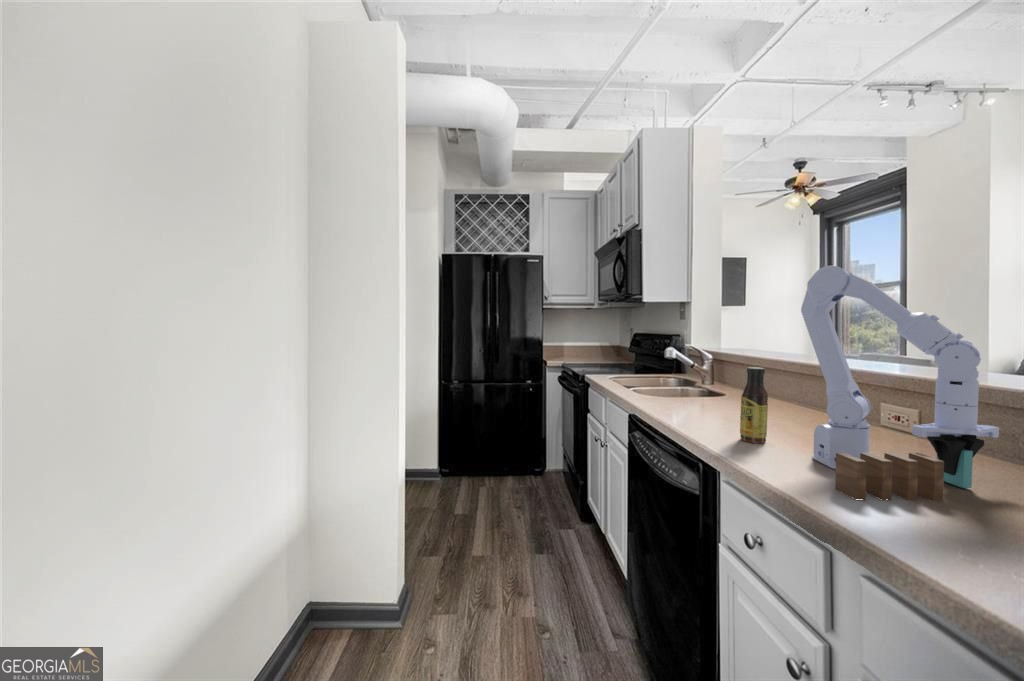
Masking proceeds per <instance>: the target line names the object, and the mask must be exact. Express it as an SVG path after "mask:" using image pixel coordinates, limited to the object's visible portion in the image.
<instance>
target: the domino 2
mask: <svg viewBox="0 0 1024 681" xmlns="http://www.w3.org/2000/svg"><path fill="white" fill-rule="evenodd" d="M860 459H862V460H864V461H866V492H867V493H866V494H868V493H869V494H868V495H870V494H871V496H872V495H873V496H872V497H874V496H875V497H874V498H876V497H878V498H880V499H882V500H881V501H892V461H890V460H887V459H884V457H881V456H879V455H876V454H874V453H871V452H869V453H860ZM878 498H877V499H878ZM880 499H879V500H880ZM886 499H888V500H886Z"/></svg>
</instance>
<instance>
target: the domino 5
mask: <svg viewBox="0 0 1024 681" xmlns="http://www.w3.org/2000/svg"><path fill="white" fill-rule="evenodd" d="M936 459H938V460H939V458H938V456H937V455H936ZM973 459H974V457H973V451H970V450H966V449H963V450H962V451H961V454H960V457H959V462H958V467H957V471H956V474H955V475H951V474H948V473H945V472H944V482H946V483H948V484H951V485H953V486H956V487H959V488H962V489H972V484H973V480H972V479H973V462H974V461H973Z"/></svg>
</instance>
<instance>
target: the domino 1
mask: <svg viewBox="0 0 1024 681" xmlns="http://www.w3.org/2000/svg"><path fill="white" fill-rule="evenodd" d="M834 481H835V482H834V484H835V486H834V490H835V489H836V491H837V490H838V491H837V492H839V491H840V492H839V493H841V492H842V493H841V494H843V493H844V494H843V495H845V494H846V495H845V496H847V495H848V496H847V497H849V496H850V497H849V498H851V497H853V498H855V499H863V500H862V501H866V494H867V493H866V461H864V460H862V459H859V458H857V457H854V456H851V455H849V454H846V453H836V469H835V480H834ZM853 498H852V499H853ZM855 499H854V500H855Z"/></svg>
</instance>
